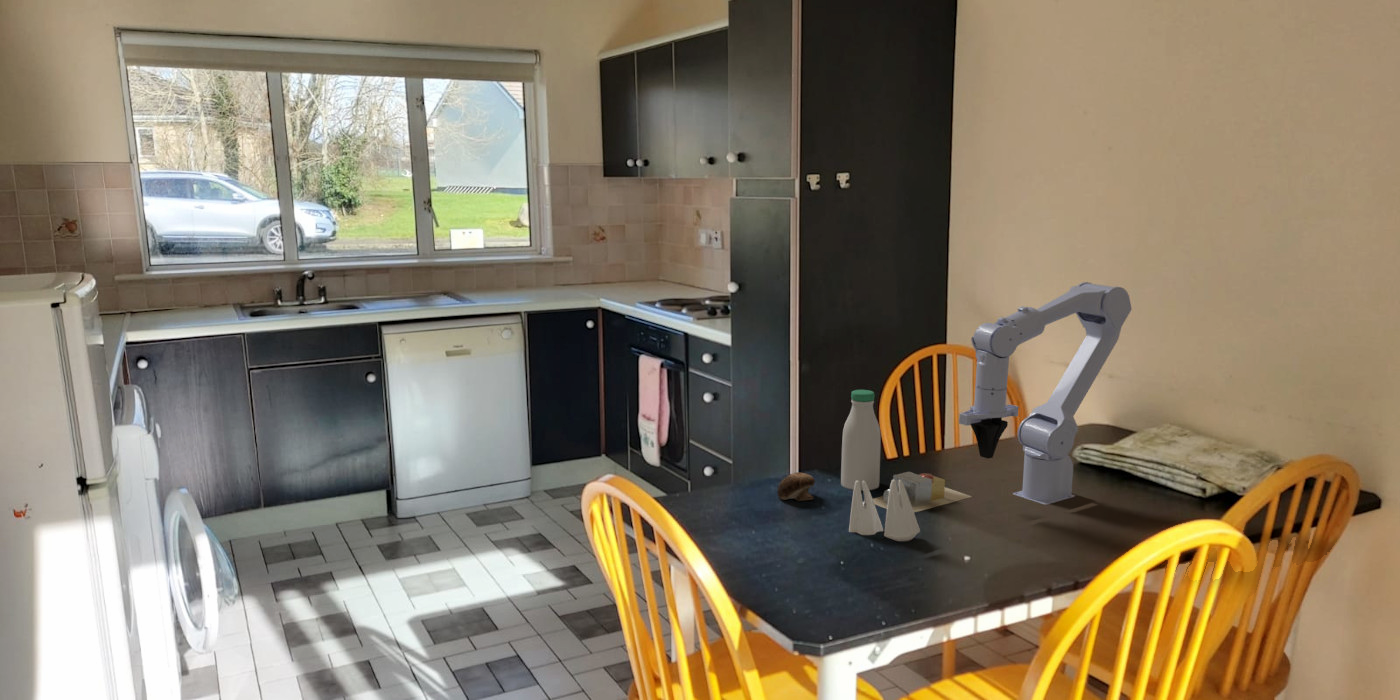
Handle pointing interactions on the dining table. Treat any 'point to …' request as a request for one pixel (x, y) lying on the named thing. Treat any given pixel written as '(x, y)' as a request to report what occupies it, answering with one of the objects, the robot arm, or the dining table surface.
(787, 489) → the mushroom
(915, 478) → the grey rectangular block
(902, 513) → the salt and pepper shakers
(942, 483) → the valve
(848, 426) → the milk bottle
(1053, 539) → the dining table surface
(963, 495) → the board
